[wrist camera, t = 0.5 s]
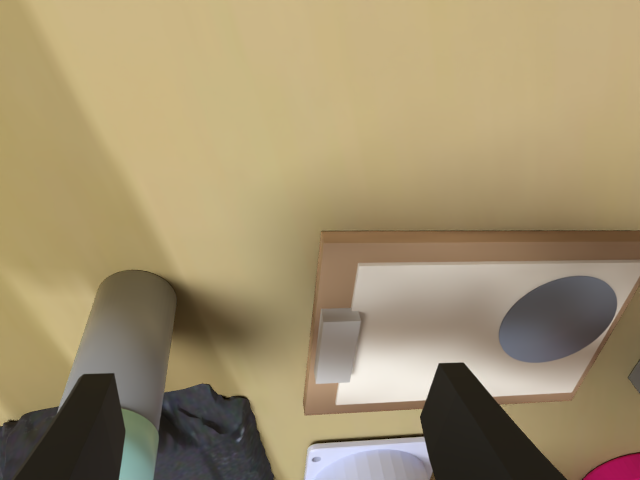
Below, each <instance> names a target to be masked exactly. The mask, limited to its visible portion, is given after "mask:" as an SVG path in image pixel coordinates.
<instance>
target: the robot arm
mask: <svg viewBox="0 0 640 480" xmlns="http://www.w3.org/2000/svg"><path fill="white" fill-rule="evenodd" d="M420 419H421V424H422V429H423V434H424V437H410V438H395V439H380V440H364V441H349V442H333V443H318V444H313V445H311V446H310V447H309V448H308V450H307V458H306V466H305V474H304V480H430V478H431V475H432V472H433V473H434V476H435V479H436V480H567V479H566V478H565V477H564V476H563V475H562V474H561V473H560V472H559V471H558V470H557V469H556V468H555V467H554V466H553V465H552V463H551V462H550V461H549V460H548V459H547V458H546V457H545V456H544V455H543V454H542V453H541V452H540V451H539V449H538V448H537V447H536V446H535V445H534V444H533V443H532V442H531V441H530V439H529V438H528V437H527V436H526V435H525V434H524V433H523V432H522V431H521V429H520V428H519V427H518V426H517V425H516V424H515V423H514V421H513V420H512V419H511V418H510V417H509V416H508V414H507V413H506V412H505V411H504V410H503V409H502V407H501V406H500V405H499V404H498V403H497V402H496V400H495V399H494V398H493V397H492V396H491V394H490V393H489V392H488V391H487V390H486V388H485V387H484V386H483V385H482V384H481V382H480V381H479V380H478V379H477V378H476V376H475V375H474V374H473V373H472V372H471V370H470V369H469V368H468V367H467V366H466V365H465V363H464V362H458V363H439V364H438V367H437V370H436V373H435V376H434V378H433V381H432V384H431V387H430V390H429V393H428V396H427V399H426V402H425V404H424V407H423V410H422V413H421V416H420ZM125 433H126V430H125V425H124V420H123V415H122V410H121V405H120V400H119V395H118V390H117V384H116V379H115V374H114V373H99V374H83V375H82V376H81V377H79V379H78V380H77V382H76V384H75V385H74V387H73V389H72V390H71V392H70V394H69V395H68V397H67V399H66V400H65V402H64V403H63V405H62V407H61V408H60V410H59V411H58V413H57V414H56V416H55V417H54V419H53V420H52V422H51V423H50V425H49V426H48V428H47V429H46V431H45V432H44V434H43V435H42V437H41V438H40V440H39V441H38V443H37V444H36V445H35V447H34V448H33V450H32V451H31V453H30V454H29V455H28V457H27V458H26V460H25V461H24V462H23V464H22V465H21V467H20V468H19V469H18V471H17V472H16V474H15V475H14V476H13V478H12V479H11V480H119V476H120V469H121V462H122V455H123V448H124V440H125Z"/></svg>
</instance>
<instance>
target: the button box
mask: <svg viewBox="0 0 640 480" xmlns="http://www.w3.org/2000/svg"><path fill="white" fill-rule="evenodd" d="M628 379H629V380H630V381H631V383H632V384H633V385H634V387H635V388H636V389H637V391H638V392H639V393H640V360H639V362H638V363H637V365H636V366H635V368H634V369H633V371H632V372H631V374H630V375H629V377H628Z"/></svg>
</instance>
